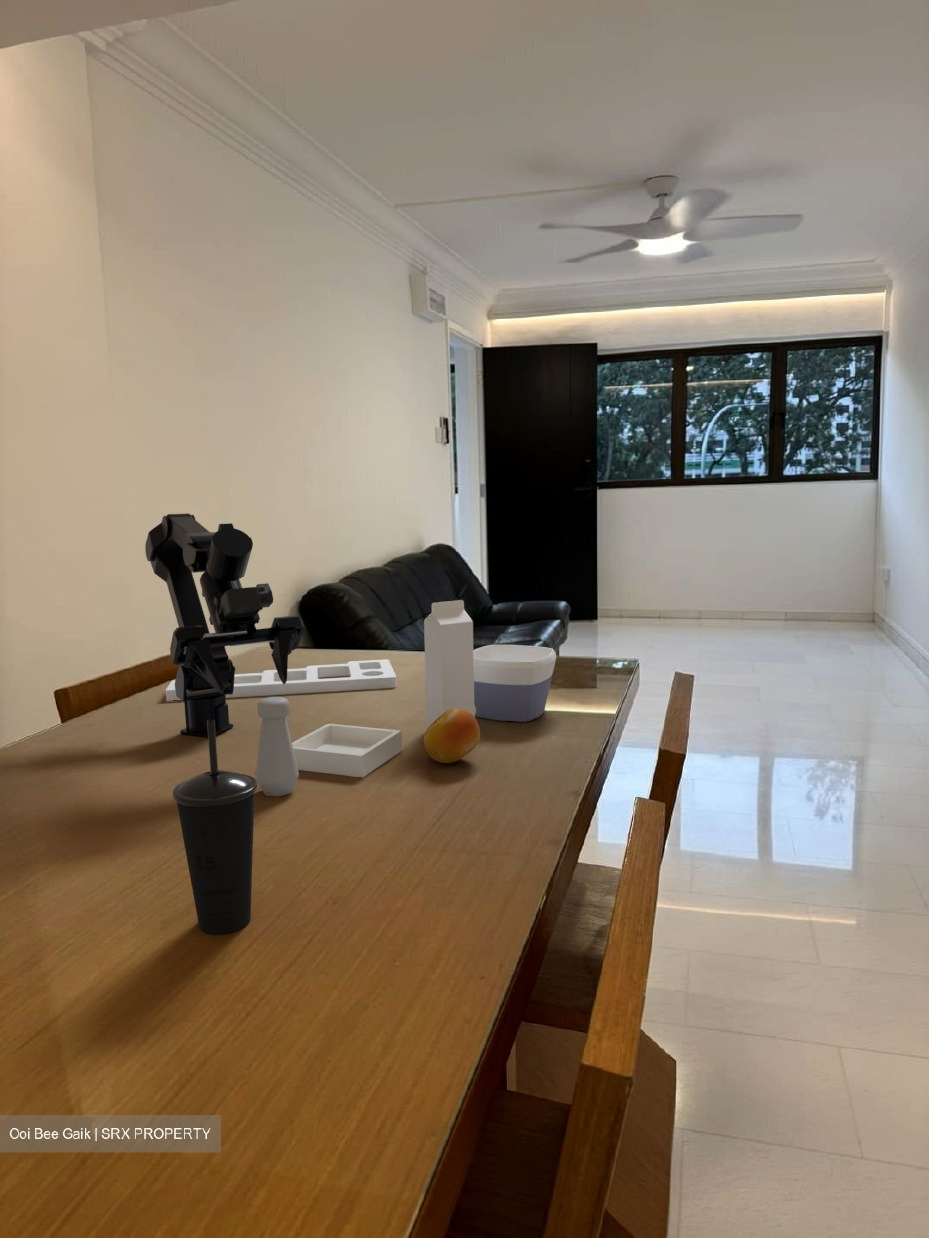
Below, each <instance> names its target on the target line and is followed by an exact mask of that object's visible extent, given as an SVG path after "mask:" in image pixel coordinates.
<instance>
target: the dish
mask: <svg viewBox="0 0 929 1238" xmlns="http://www.w3.org/2000/svg"><path fill="white" fill-rule="evenodd" d="M402 737H403V736H402V730H397V729H387V728H377V727H365V726H357V725H348V724H347V725H346V724H338V723H337V724H336V723H327V724H324V725H322V726H321V727H319V728H317V729H315V730H313V731H311V732H310V733H308V734H305V735H304V736H302V737H300V738H298V739H296V740H295V741H292V746H293V750H294V754H295V759H296V763H297V767H298V771H305V772H313V773H322V774H329V775H330V774H331V775H336V776H337V775H339V776H347V777H354V778H364V777H366V776H367V775H369V774H370V773H372V772H373V771H374V770H376V769H377V768H379V767H381V766H382V765H383V764H385V763H387V761H389V760H390V759H392V758H393V757H395V756H396V755H398V754H399V753H401V752H402V751H403V740H402V739H403V738H402Z"/></svg>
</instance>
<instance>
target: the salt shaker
mask: <svg viewBox="0 0 929 1238" xmlns="http://www.w3.org/2000/svg"><path fill="white" fill-rule="evenodd" d="M290 708H291V707H290V703H289V700H288V699H287V698H286V697H282V696H268V697H265V698H262V699H261V700H259V701H258V702H257V716H258V717H259V718H261V719H262V720H261V727H260V736H259V741H258V751H257V759H256V768H255V779H256V781H257V785H258V786H259V787H260V789H261V790H262V793H263V794H264V795H265V796H266V797H282V796H283V797H284V796H286V795H290V794H292V792H293V790H294V788H295V785H296V783H297V782H298V779H299V775H300V773H299V770H298V767H297V763H296V759H295V754H294V750H293V746H292V742H293V741H292V738H291V733H290V729H289V725H288V721H287V716H289V715H290V713H291V709H290Z"/></svg>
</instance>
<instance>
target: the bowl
mask: <svg viewBox="0 0 929 1238" xmlns="http://www.w3.org/2000/svg"><path fill="white" fill-rule="evenodd" d="M473 660H474V709H475V711H476V715H477V717H478V718H479V719H483V718H486V719H485V720H489V719H492V720H491V721H496V720H500V721H499V722H507V721H518V722H517V723H528V722H527V721H529V722H531V720H532V721H534V720H536V719H538V718H539V717H541V716H542V715H543V714H544V712H545V709H546V705H547V702H548V701H547V700H548V695H549V691H550V686H551V681H552V677H553V673H554V669H555V664H556V660H557V654H556V651H555V650H554V649H553V647H551V648H550V647H545V646H535V645H523V644H522V645H519V644H518V645H517V644H489V645H485V646H481V647H478V648H476V649H473ZM535 718H536V719H535ZM533 719H534V720H533Z"/></svg>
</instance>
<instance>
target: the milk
mask: <svg viewBox="0 0 929 1238" xmlns="http://www.w3.org/2000/svg"><path fill="white" fill-rule="evenodd" d="M423 627H424V629H423V633H424V664H425V666H424V668H425V669H424V670H425V671H424V673H425V699H426V700H425V701H426V702H425V705H426V707H425V708H426V730H427V729H428V728H429V726H430V725H431V724H432V723H433V722H434V721H435V720H436V719H437V718H438V717H440V716H441V715H442V714H443V713H445V712H446V711H447V710H450V709H454V708H458V709H463V710H465V711H467V712H469V713H471V714H472V715H473V716H474V717H475V704H474V660H473V650H474V621H473V619H472V618H471V617H470V615H469V614H468V613H467V611H466V610H465V601H464V600H463V599H459V600H450V601H449V600H448V601H439V602H432V603H431V613H430V614H429V615H428V616H426V617H425V619H424V620H423ZM475 718H476V717H475Z"/></svg>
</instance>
